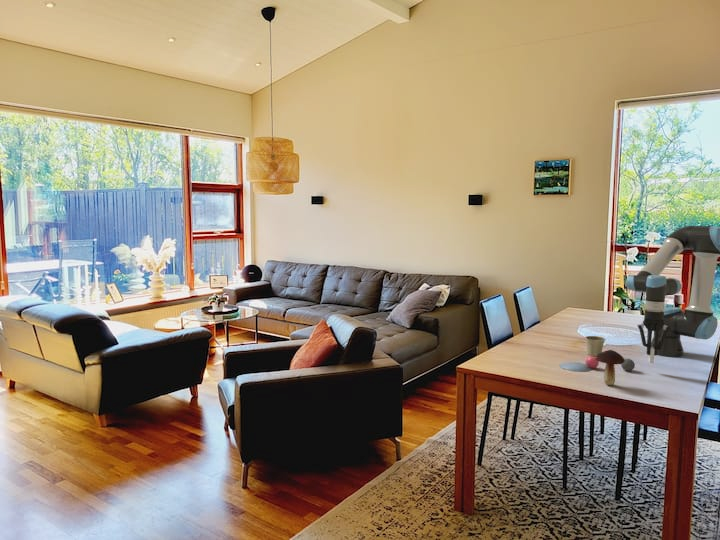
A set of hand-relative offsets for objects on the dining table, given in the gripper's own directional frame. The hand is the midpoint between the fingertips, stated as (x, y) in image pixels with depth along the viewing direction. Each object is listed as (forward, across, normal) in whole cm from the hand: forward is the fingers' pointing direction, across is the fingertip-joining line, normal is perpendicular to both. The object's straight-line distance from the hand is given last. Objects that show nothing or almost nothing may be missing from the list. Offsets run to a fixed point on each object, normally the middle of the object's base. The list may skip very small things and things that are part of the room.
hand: (651, 362), depth 236 cm
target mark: (+5, -31, 0) cm, 32 cm away
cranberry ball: (+2, -24, 0) cm, 24 cm away
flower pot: (+5, -20, +24) cm, 32 cm away
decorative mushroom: (+6, -20, -22) cm, 31 cm away
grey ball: (+2, -9, 0) cm, 9 cm away
